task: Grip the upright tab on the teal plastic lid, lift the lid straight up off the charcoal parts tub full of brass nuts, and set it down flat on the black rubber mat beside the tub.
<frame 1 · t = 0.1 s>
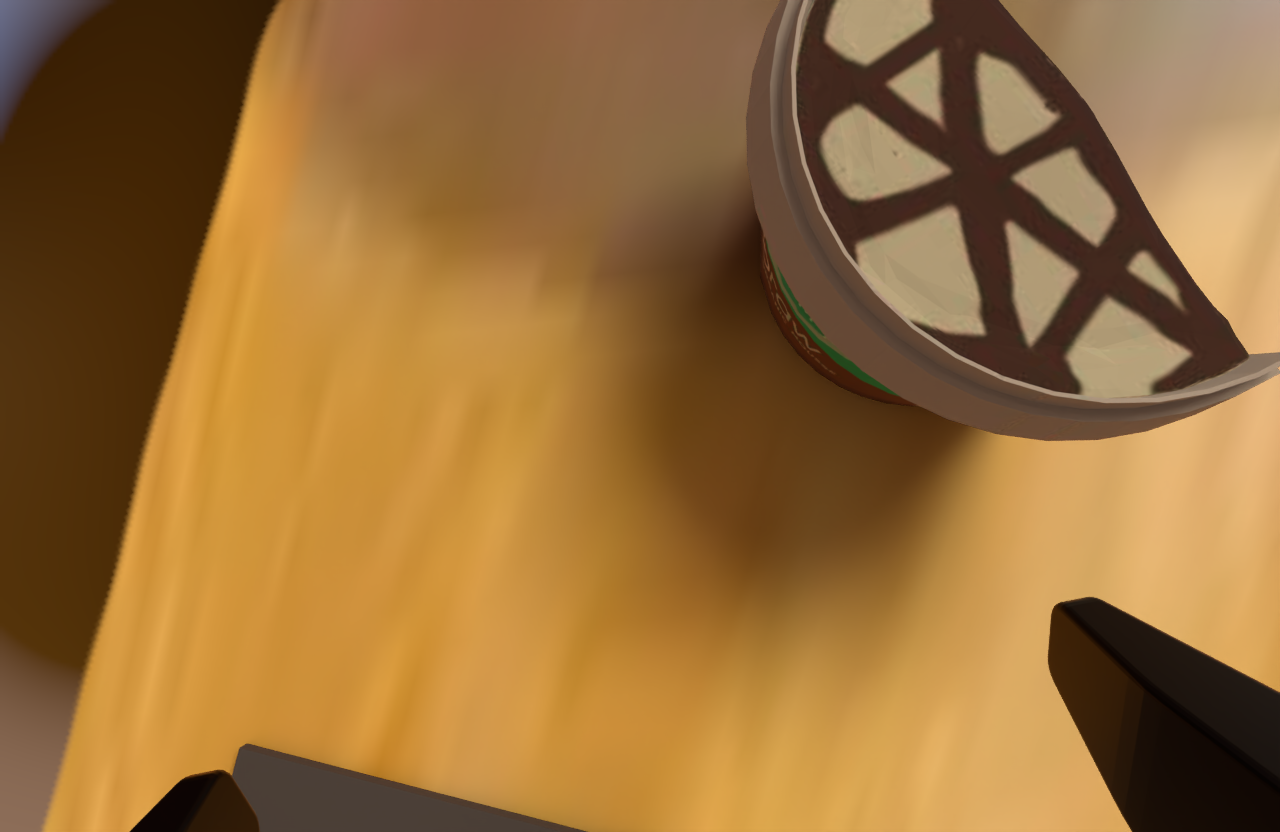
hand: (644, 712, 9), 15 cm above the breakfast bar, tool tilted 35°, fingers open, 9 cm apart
food container: (835, 302, 24), on the breakfast bar
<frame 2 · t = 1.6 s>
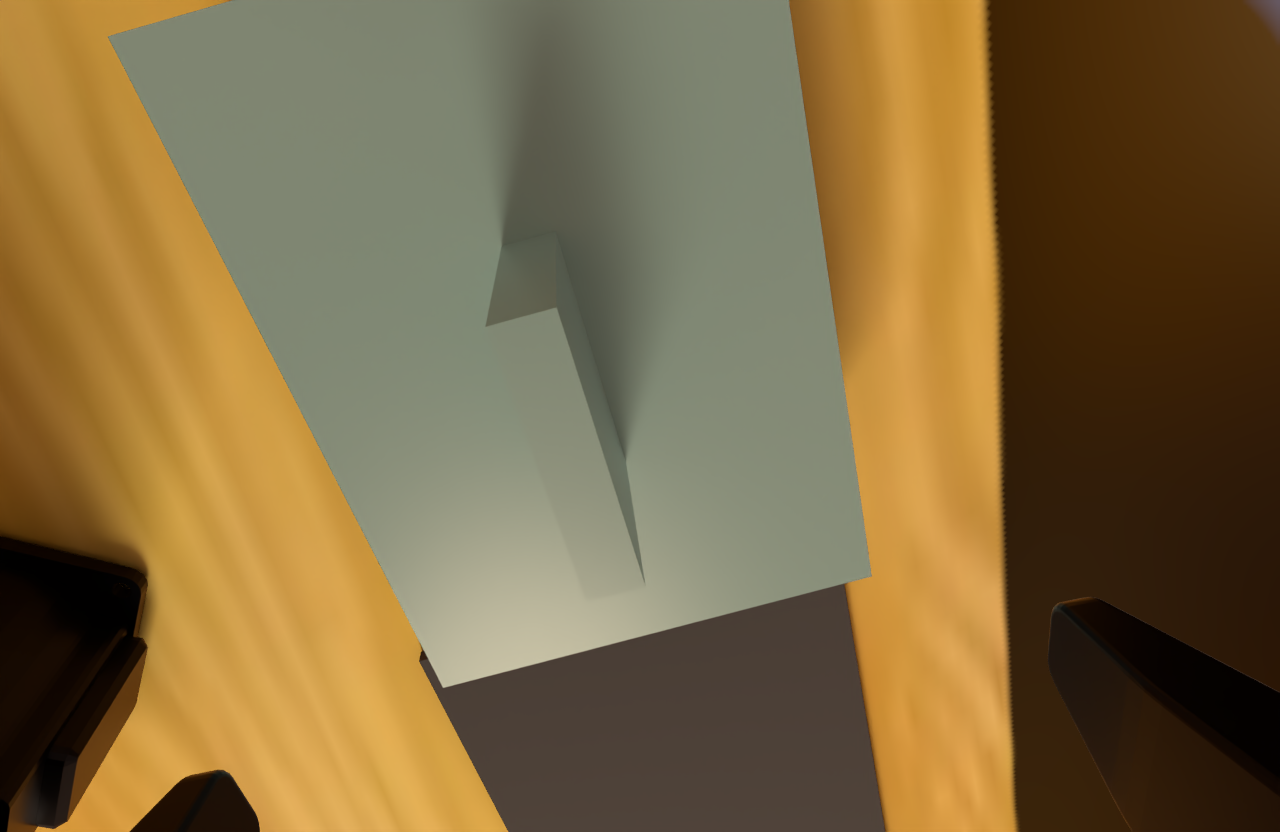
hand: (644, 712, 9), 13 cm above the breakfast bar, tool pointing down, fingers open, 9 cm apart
mat: (683, 768, 28), on the breakfast bar
lid: (567, 331, 17), point 3 cm above the breakfast bar, touching tub
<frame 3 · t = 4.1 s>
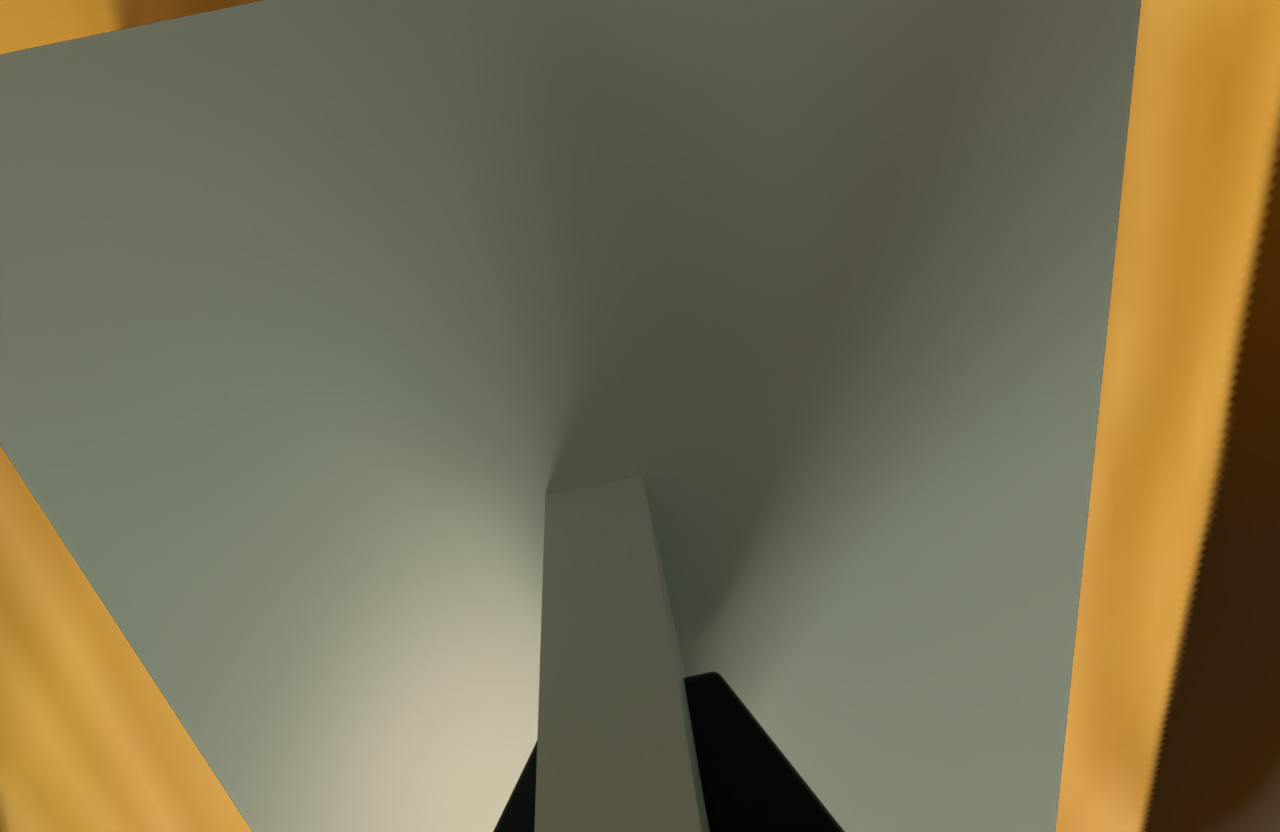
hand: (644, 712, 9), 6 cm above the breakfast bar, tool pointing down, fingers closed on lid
lid: (628, 574, 11), point 3 cm above the breakfast bar, touching gripper
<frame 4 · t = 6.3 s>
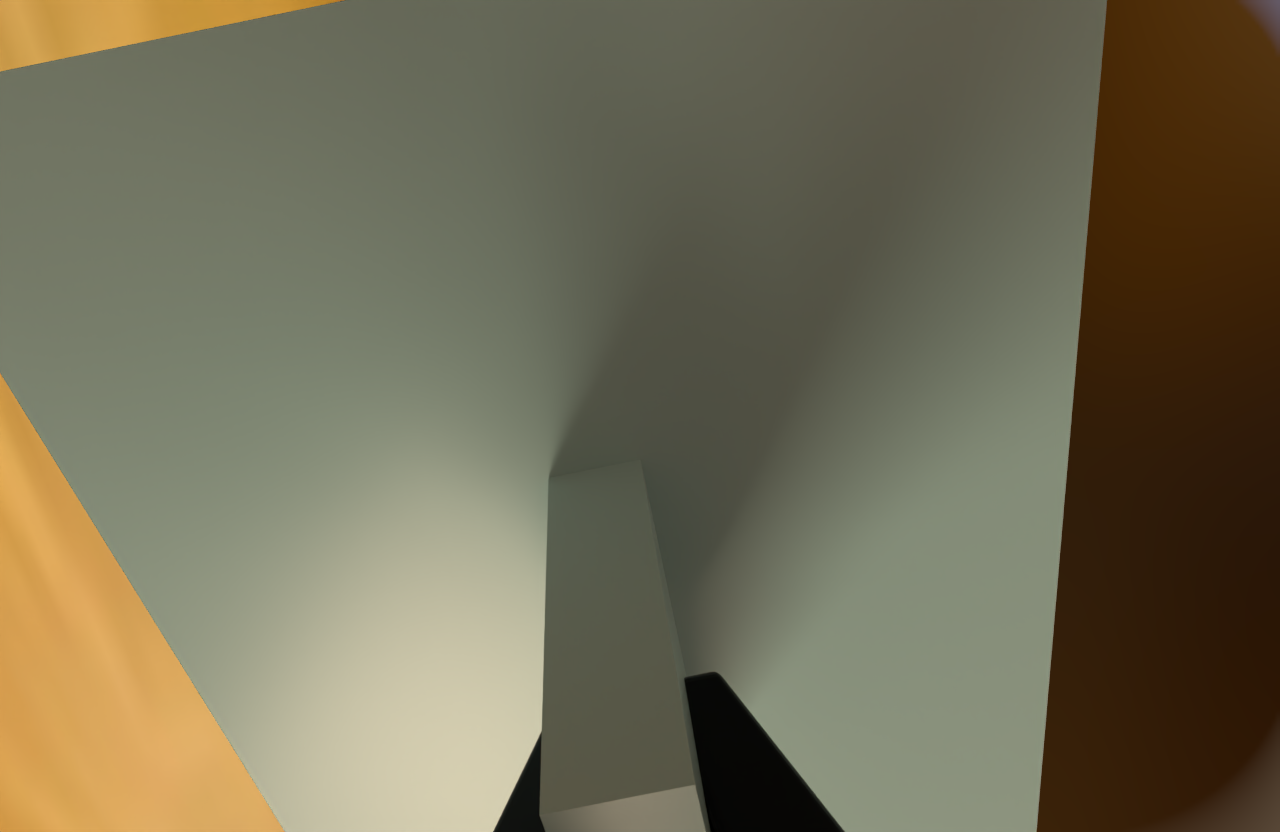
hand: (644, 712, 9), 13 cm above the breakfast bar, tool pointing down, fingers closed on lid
lid: (627, 558, 11), point 10 cm above the breakfast bar, touching gripper
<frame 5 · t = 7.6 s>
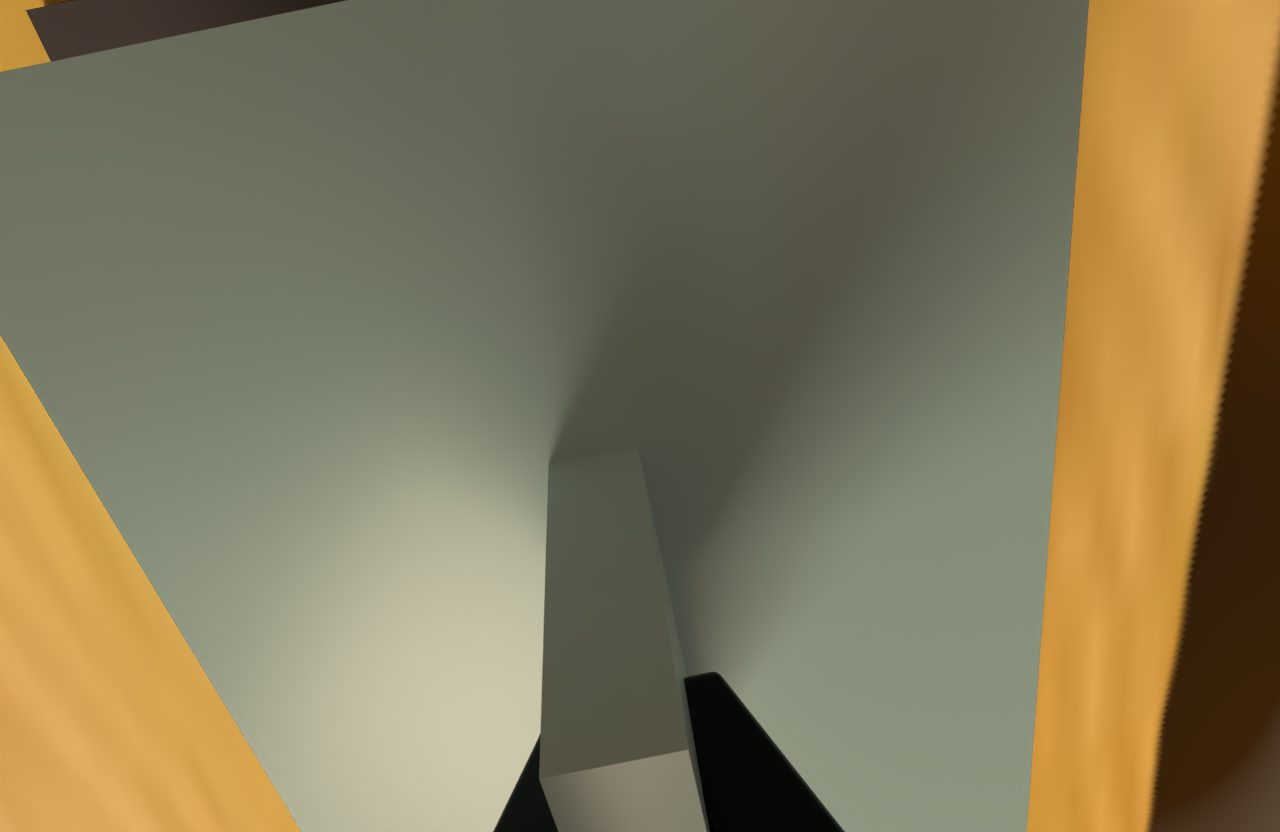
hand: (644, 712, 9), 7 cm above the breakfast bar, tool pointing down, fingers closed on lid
mat: (615, 416, 15), on the breakfast bar
lid: (625, 546, 11), point 4 cm above the breakfast bar, touching gripper
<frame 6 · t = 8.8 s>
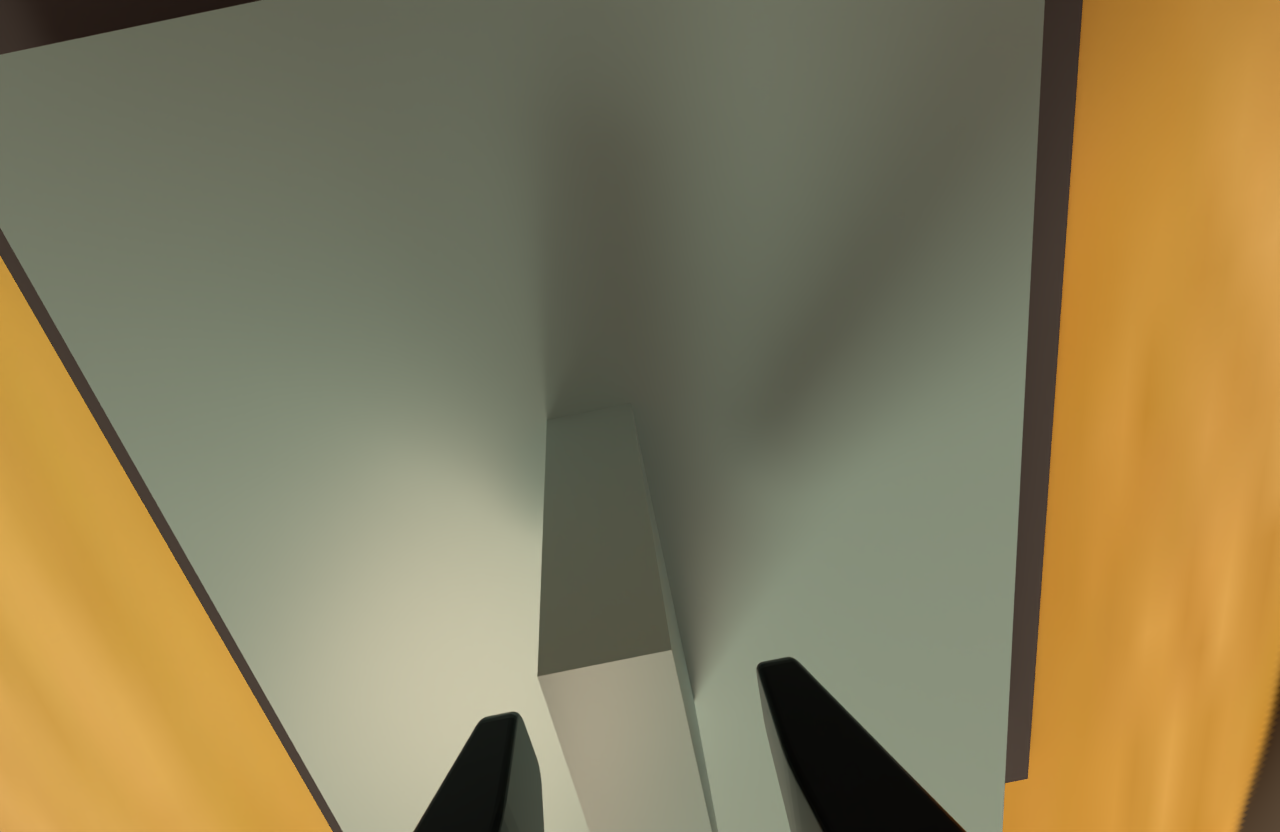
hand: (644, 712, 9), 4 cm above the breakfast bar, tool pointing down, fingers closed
mat: (621, 498, 12), on the breakfast bar
lid: (620, 507, 12), resting on mat
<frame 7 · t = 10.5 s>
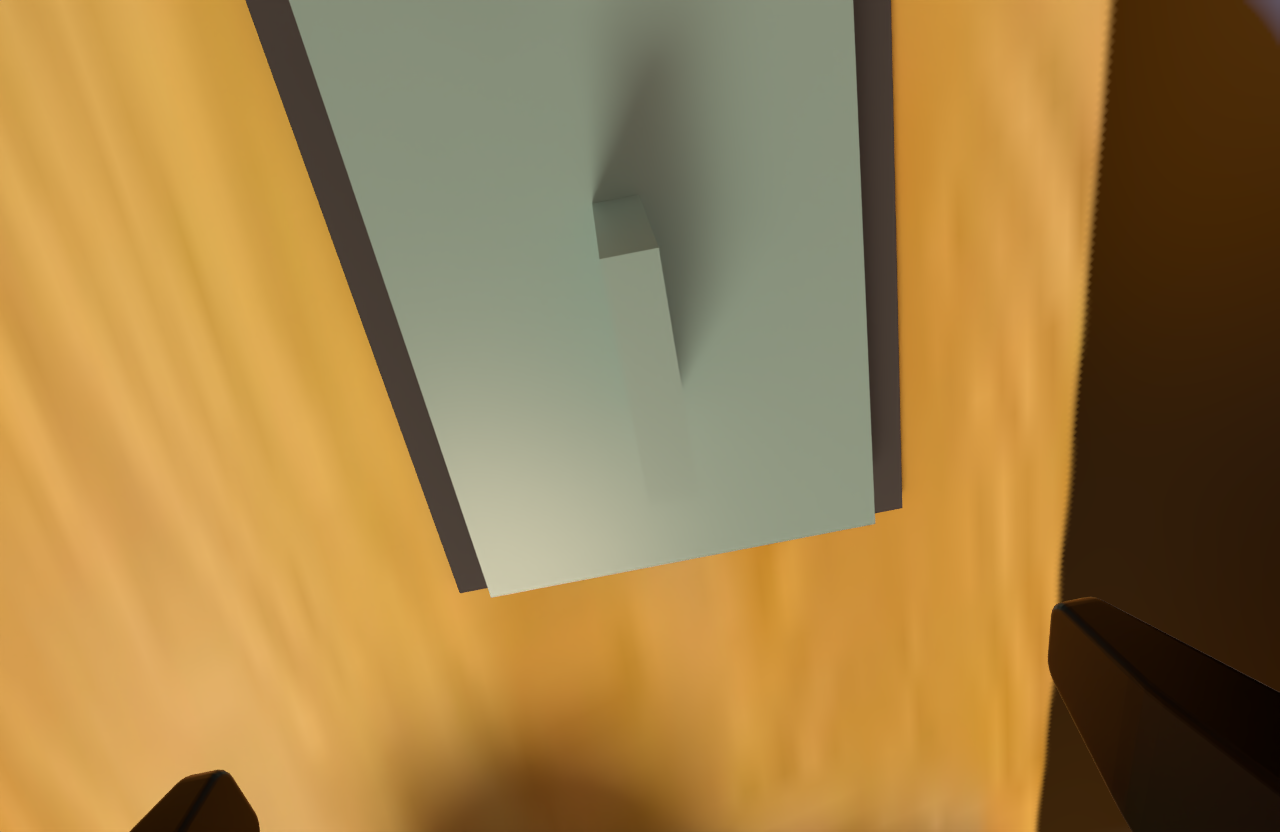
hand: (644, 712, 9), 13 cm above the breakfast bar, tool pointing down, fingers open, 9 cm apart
mat: (630, 285, 20), on the breakfast bar
lid: (630, 286, 20), resting on mat
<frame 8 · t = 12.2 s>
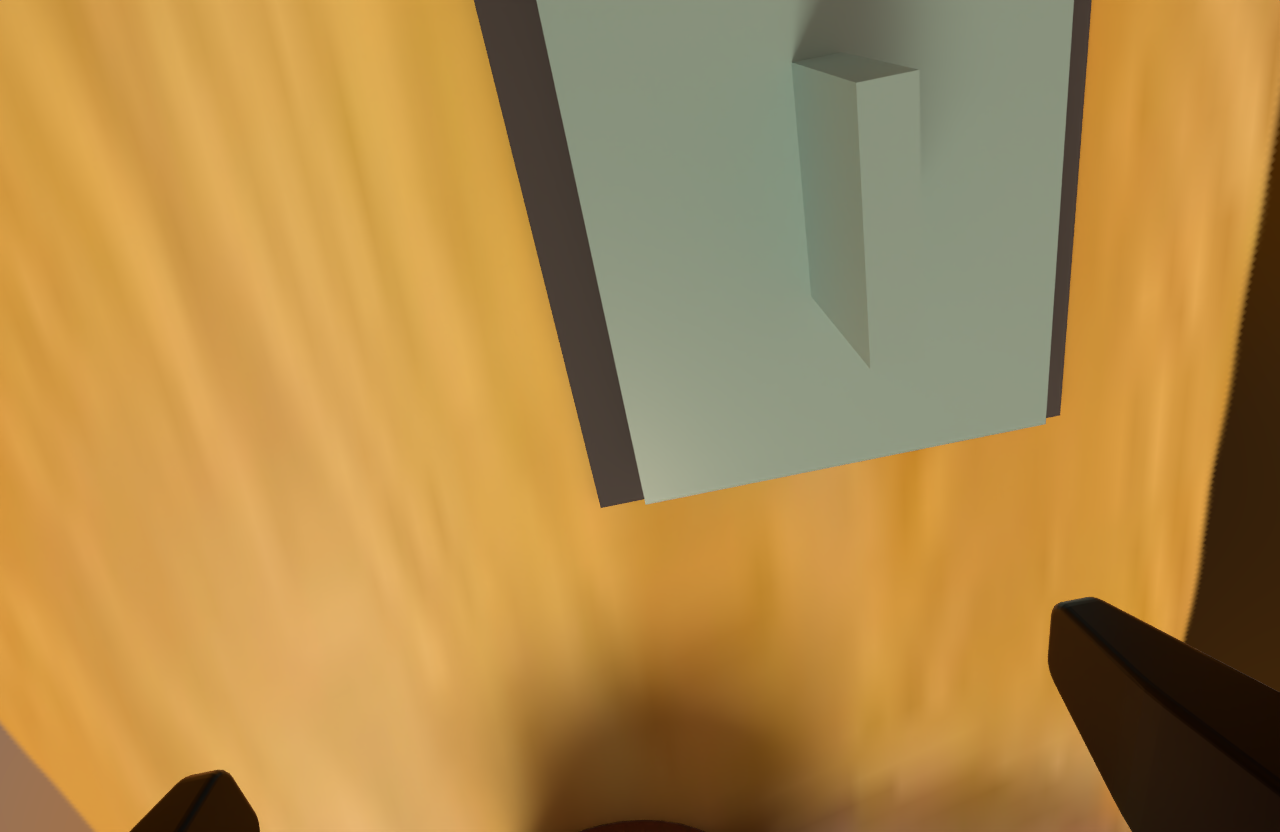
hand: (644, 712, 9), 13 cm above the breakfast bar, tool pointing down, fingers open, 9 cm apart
mat: (801, 169, 19), on the breakfast bar
lid: (805, 168, 19), resting on mat
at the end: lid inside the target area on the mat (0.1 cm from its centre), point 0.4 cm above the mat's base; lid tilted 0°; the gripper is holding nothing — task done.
